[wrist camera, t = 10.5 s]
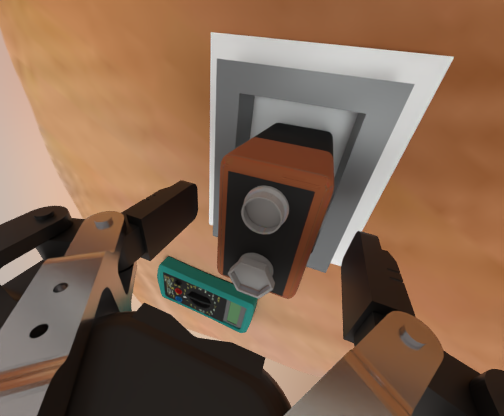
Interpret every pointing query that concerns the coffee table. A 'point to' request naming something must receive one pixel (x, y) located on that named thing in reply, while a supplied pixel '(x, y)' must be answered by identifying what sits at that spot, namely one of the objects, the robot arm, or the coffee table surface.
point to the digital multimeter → (206, 294)
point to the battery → (273, 207)
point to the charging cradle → (322, 116)
